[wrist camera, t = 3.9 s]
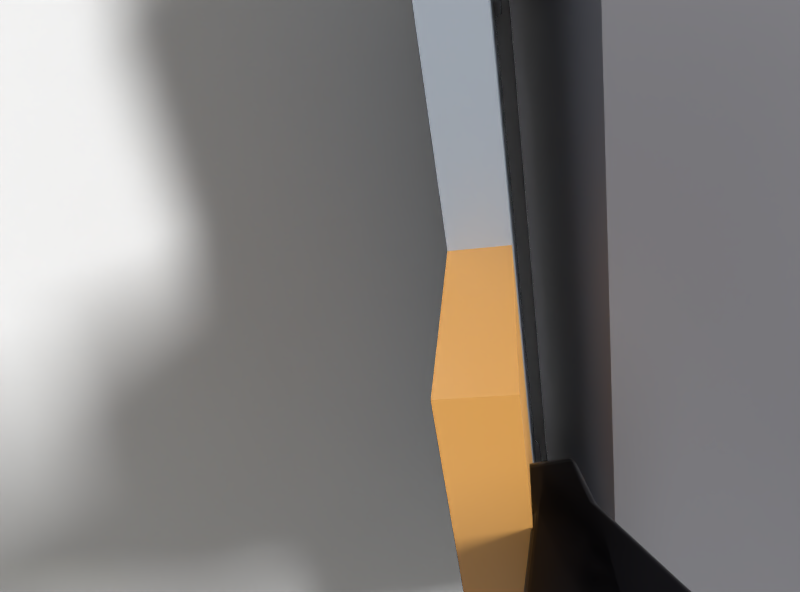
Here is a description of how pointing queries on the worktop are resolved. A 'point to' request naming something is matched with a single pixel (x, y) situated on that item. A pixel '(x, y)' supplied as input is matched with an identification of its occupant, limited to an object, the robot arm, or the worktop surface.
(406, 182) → the worktop surface
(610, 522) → the robot arm
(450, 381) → the door
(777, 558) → the cabinet housing
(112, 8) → the worktop surface
